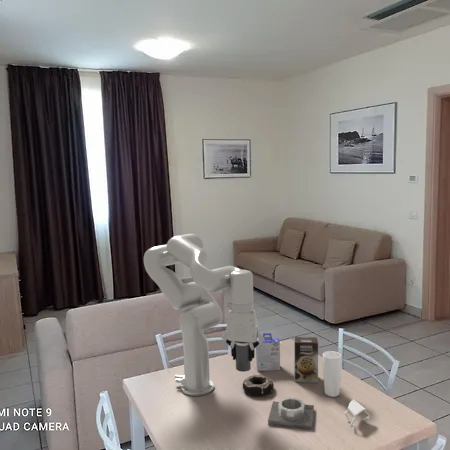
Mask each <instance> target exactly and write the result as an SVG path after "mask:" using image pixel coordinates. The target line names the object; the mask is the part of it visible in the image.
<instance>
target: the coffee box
mask: <svg viewBox="0 0 450 450" xmlns="http://www.w3.org/2000/svg"><path fill="white" fill-rule="evenodd" d="M293 344H294V345H293V354H294V355H293V356H294V358H293V365H294V367H293V372H294V373H293V376H294V378H293V380H294V383H312V384H313V383H315V384H318V383H319V342H318V337H314V336H313V337H310V336H309V337H307V336H294V337H293Z"/></svg>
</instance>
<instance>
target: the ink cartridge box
mask: <svg viewBox="0 0 450 450" xmlns="http://www.w3.org/2000/svg"><path fill="white" fill-rule="evenodd" d="M262 336H263V337H264V341H263V342H262V343H260V344H259V345H258V346H257V347H256V348H255V355H256V357H255V359H256V362H255V363H256V371H257V372H258V371H261V372H263V371H264V372H265V371H267V372H268V371H280V370H281V345H280V339H279V337H273V336H272V333H271V332H270V333H266V332H264V333H262ZM257 340H259V338H257V339H256V341H257ZM256 341H255V342H256Z"/></svg>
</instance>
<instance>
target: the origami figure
mask: <svg viewBox="0 0 450 450" xmlns="http://www.w3.org/2000/svg"><path fill="white" fill-rule="evenodd" d="M348 412H350V414H352V416H353V418H352V421H351V422H350V424H349V425H350V427H351V429H352V430H354V429H355V427H356V426H355V424H354V423H355V420H356V417H357V416H359V414H361V413H362V412H364V413H365V414H366V415H367V416H366V417H364V418H363V419H362V420H363V421H364V422H365V423H366V424H367V425H368V424H370V423H369V422H367V421H366V420H369V419H372V418H373V416H372V415H370V414H369V412H368V409H367V408H366V407H364V406H363V405H361V404H360V403H359V402H358V401H357V400H355V399H354V398H353V399H352V400H351V401H350V402H349V403H348V407H347V409H346V410H345V411H344V415H345V417H346V418H347V421H346V422H347V423H349V421H350V419H349V416H348V415H347V413H348Z"/></svg>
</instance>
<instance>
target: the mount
mask: <svg viewBox="0 0 450 450" xmlns="http://www.w3.org/2000/svg"><path fill="white" fill-rule="evenodd" d="M314 412H315V405H314V404H305V402H304V401H303V400H301V399H299V398H296V397H290V396H289V397H283V398H282V399H280V400H279V401H275V400H273V401H272V405H271V408H270V412H269V415H268V418H267V425H269V426H275V427H277V426H278V427H285V428H294V429H303V430H313V424H314Z"/></svg>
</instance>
